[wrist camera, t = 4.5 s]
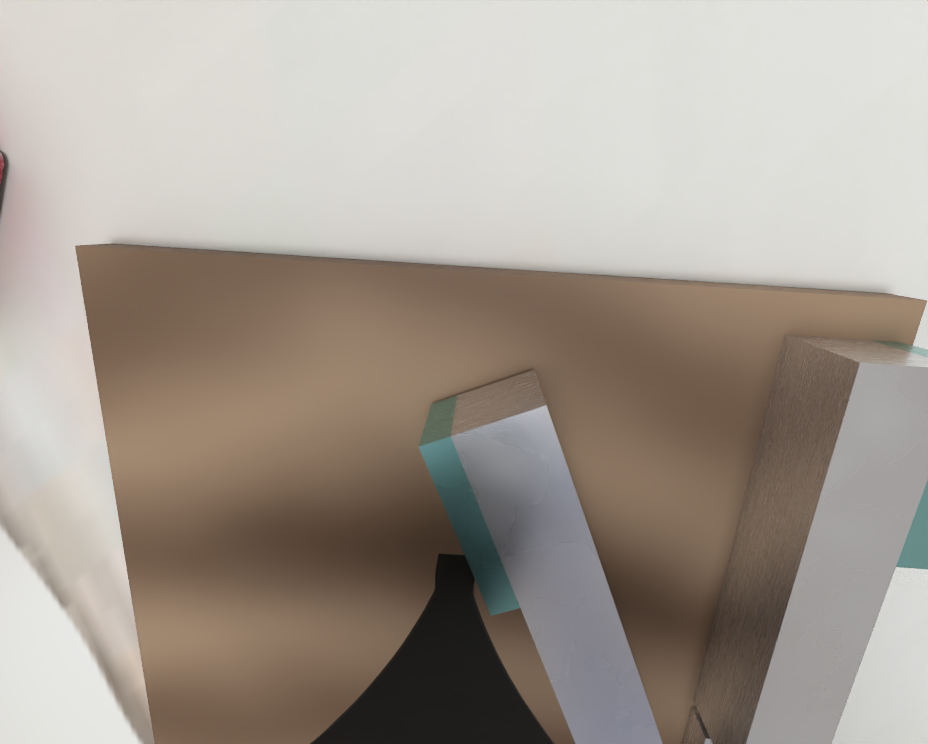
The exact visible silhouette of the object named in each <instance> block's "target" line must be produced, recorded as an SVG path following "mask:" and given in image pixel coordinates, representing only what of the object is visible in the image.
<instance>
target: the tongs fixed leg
mask: <svg viewBox="0 0 928 744" xmlns="http://www.w3.org/2000/svg"><path fill="white" fill-rule="evenodd" d="M896 567H904V568H918V569H928V350H926V349H923V348H919V347H916V346H912V345H909V344H905V343H902V342H892V341H877V340H861V339H846V338H831V337H816V336H801V335H786V334H785V335H784V339H783V343H782V347H781V351H780V355H779V359H778V363H777V367H776V371H775V375H774V379H773V383H772V387H771V391H770V395H769V399H768V403H767V407H766V411H765V415H764V419H763V423H762V427H761V431H760V435H759V439H758V443H757V447H756V451H755V455H754V459H753V463H752V467H751V471H750V475H749V479H748V483H747V487H746V491H745V495H744V499H743V503H742V507H741V511H740V515H739V519H738V523H737V527H736V531H735V535H734V539H733V543H732V547H731V551H730V555H729V559H728V563H727V567H726V571H725V575H724V579H723V583H722V587H721V591H720V595H719V599H718V603H717V607H716V611H715V615H714V619H713V623H712V627H711V631H710V635H709V639H708V643H707V647H706V651H705V655H704V659H703V663H702V667H701V671H700V675H699V679H698V683H697V687H696V691H695V695H694V699H693V700H694V702H695V705H696V706H692V707H691V711H690V715H689V719H688V723H687V727H686V731H685V735H684V739H683V743H682V744H831V743H832V740H833V737H834V735H835V732H836V729H837V726H838V724H839V721H840V718H841V716H842V713H843V710H844V707H845V705H846V702H847V699H848V696H849V694H850V691H851V688H852V685H853V683H854V680H855V677H856V674H857V672H858V669H859V666H860V664H861V661H862V658H863V655H864V653H865V650H866V647H867V644H868V642H869V639H870V636H871V633H872V631H873V628H874V625H875V623H876V620H877V617H878V614H879V612H880V609H881V606H882V603H883V601H884V598H885V595H886V592H887V590H888V587H889V584H890V581H891V579H892V576H893V573H894V571H895V568H896Z"/></svg>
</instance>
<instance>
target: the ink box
mask: <svg viewBox="0 0 928 744" xmlns="http://www.w3.org/2000/svg"><path fill="white" fill-rule="evenodd" d="M3 168H4V159H3V155H2V154H1V153H0V184H1V178H2V170H3Z"/></svg>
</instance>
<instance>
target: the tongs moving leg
mask: <svg viewBox="0 0 928 744" xmlns="http://www.w3.org/2000/svg"><path fill="white" fill-rule="evenodd" d="M419 449H420V452H421V454H422V456H423V459H424V461H425V463H426V466H427V468H428V470H429V473H430V475H431V477H432V480H433V482H434V484H435V487H436V489H437V491H438V494H439V496H440V498H441V501H442V503H443V505H444V508H445V510H446V512H447V515H448V517H449V519H450V522H451V524H452V526H453V529H454V531H455V534H456V536H457V538H458V541H459V543H460V545H461V548H462V550H463V552H464V555H465V557H466V559H467V562H468V564H469V566H470V569H471V571H472V573H473V576H474V578H475V580H476V583H477V585H478V587H479V590H480V592H481V594H482V597H483V599H484V601H485V604H486V606H487V608H488V611H489V613H490V615H491V616H492V615H496V614H500V613H503V612H507V611H511V610H515V609H518V608H521V611H522V613H523V616H524V618H525V621H526V623H527V625H528V628H529V630H530V633H531V635H532V638H533V640H534V643H535V645H536V648H537V650H538V653H539V655H540V657H541V660H542V662H543V665H544V667H545V670H546V672H547V675H548V677H549V680H550V682H551V685H552V687H553V689H554V692H555V694H556V697H557V699H558V702H559V704H560V707H561V709H562V712H563V714H564V717H565V719H566V722H567V724H568V726H569V729H570V731H571V734H572V736H573V739H574V741H575V744H663V742H662V740H661V737H660V734H659V731H658V728H657V725H656V722H655V719H654V716H653V713H652V710H651V707H650V704H649V701H648V698H647V696H646V693H645V690H644V687H643V684H642V681H641V678H640V675H639V672H638V669H637V666H636V664H635V661H634V658H633V655H632V652H631V649H630V646H629V643H628V640H627V637H626V634H625V632H624V629H623V626H622V623H621V620H620V617H619V614H618V611H617V608H616V605H615V602H614V600H613V597H612V594H611V591H610V588H609V585H608V582H607V579H606V576H605V573H604V570H603V568H602V565H601V562H600V559H599V556H598V553H597V550H596V547H595V544H594V541H593V538H592V535H591V533H590V530H589V527H588V524H587V521H586V518H585V515H584V512H583V509H582V506H581V503H580V501H579V498H578V495H577V492H576V489H575V486H574V483H573V480H572V477H571V474H570V471H569V469H568V466H567V463H566V460H565V457H564V454H563V451H562V448H561V445H560V442H559V439H558V437H557V434H556V431H555V428H554V425H553V422H552V419H551V416H550V413H549V410H548V407H547V405H546V402H545V399H544V396H543V393H542V390H541V387H540V384H539V381H538V378H537V375H536V372H535V370H531V371H528V372H525V373H522V374H519V375H516V376H513V377H510V378H507V379H504V380H501V381H498V382H495V383H492V384H489V385H486V386H483V387H480V388H477V389H474V390H471V391H468V392H465V393H462V394H459V395H456V396H453V397H450V398H448V399H445V400H442V401H439V402H436V403H433V404H431V407H430V410H429V413H428V417H427V420H426V423H425V427H424V430H423V433H422V437H421V440H420V443H419Z"/></svg>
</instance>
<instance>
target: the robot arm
mask: <svg viewBox="0 0 928 744" xmlns="http://www.w3.org/2000/svg"><path fill="white" fill-rule="evenodd" d="M474 583H475V578H474V576H473V573H472V571H471V569H470V566H469V564H468V562H467V559H466V557H465V555H455V554H440V553H439V554H438V559H437V565H436V571H435V590H434V592H433V594H432V596H431V598H430V599H429V601H428V603H427V605H426V607H425V609H424V611H423V612H422V614H421V616H420V617H419V619H418V620H417V622H416V624H415V625H414V627H413V628H412V630H411V631H410V633H409V635H408V636H407V638H406V639H405V641H404V642H403V643H402V645H401V646H400V648H399V649H398V651H397V652H396V653H395V655H394V656H393V657H392V659H391V660H390V661H389V662H388V664H387V665H386V666H385V668H384V669H383V670H382V671H381V672H380V674H379V675H378V676H377V677H376V678H375V679H374V681H373V682H372V683H371V684H370V685H369V686H368V688H367V689H366V690H365V691H364V692H363V693H362V694H361V695H360V696H359V698H358V699H357V700H356V701H355V702H354V703H353V704H352V705H351V706H350V707H349V708H348V709H347V710H346V711H345V712H344V713H343V714H342V715H341V716H340V717H339V718H338V719H336V720H335V721H334V722H333V723H332V724H331V725H330V726H329V727H328V728H327V729H326V730H325V731H324V732H323V733H322V734H321V735H320V736H318V737H317V738H316V739H315V740H314V741H313V742H311V743H310V744H554V742H553V741H552V740H551V739H550V737H549V736H548V735H547V733H546V732H545V730H544V729H543V728H542V726H541V725H540V723H539V722H538V720H537V719H536V717H535V716H534V714H533V713H532V712H531V710H530V709H529V707H528V706H527V704H526V703H525V701H524V700H523V698H522V697H521V695H520V693H519V692H518V690H517V688H516V687H515V685H514V683H513V682H512V680H511V678H510V676H509V675H508V673H507V671H506V669H505V667H504V665H503V664H502V662H501V660H500V658H499V656H498V654H497V652H496V650H495V647H494V645H493V643H492V641H491V639H490V636H489V634H488V632H487V630H486V627H485V625H484V622H483V620H482V617H481V614H480V612H479V609H478V606H477V603H476V601H475V597H474Z"/></svg>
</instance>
